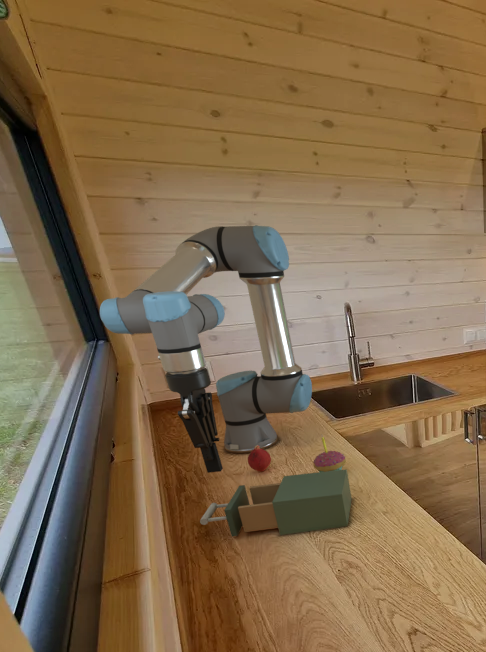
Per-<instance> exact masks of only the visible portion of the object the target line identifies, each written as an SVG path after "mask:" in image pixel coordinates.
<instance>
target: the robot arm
mask: <svg viewBox="0 0 486 652" xmlns="http://www.w3.org/2000/svg"><path fill="white" fill-rule="evenodd" d="M289 267H290V256H289V251H288V249H287V246H286V243H285V241H284V238H283V237H282V236H281V234H280V233H279V232H278V230H276V229H275V228H274V227H272V226H267V225H257V224H255V225H233V226H223V225H222V226H221V225H220V226H212V227H209V228H206V229H204V230H200V231H199V232H197V233H195V234H193V235H191V236H189V237H188V238H187V239H185V240H184V241H183V242H180V244H179V245H178V246H177V247H176V249H175V253H174V255H173V256H172V257H171V258H170V259H169V260H167V261H166V262H165V263H164V264H163V265H162V266H161V267H159V268H158V269H157V270H155V272H153V273H152V274H151V275H150V276H149V277H147V278H146V279H145V280H144V281H142V283H140V285H138V286H137V287H136V288H135V289H133V290H132V292H130V293H129V294H128V295H126V296H125V297H119V296H118V297H117V296H116V297H113V298H107V299H104V300H103V301H102V302H101V304H100V307H99V317H100V319H101V321H102V323H103V325H104V326H105V328H106V329H107V330H108V331H110V332H112V333H114V334H118V335H119V334H121V335H131V336H132V335H137V334H138V335H140V334H141V335H142V334H152V336H153V340H154V342H155V347H156V349H157V353H158V356H157V359H158V360H159V361H160V362H161V366H162V369H163V371H164V372H166V373H165V375H164V376H165V379H166V383H167V386H168V389H169V391H171V392H173V393H178V394H179V398H180V406H181V407H182V409H181V410H178V411H177V416H178V417H179V418H180V420H181V421H182V424H183V425H184V427H185V430H186V432H187V434H188V436H189V438H190V441H191V443H192V445H193V448H194V449H200V452H201V455H202V458H203V462H204V465H205V470H206V473H208V474H210V473H217V472H222V471H223V469H224V468H223V464H222V461H221V456H220V453H219V450H218V446H217V443H216V442H220V441H221V440H220V437H217V436H218V434H219V433H218V427H217V423H216V415H215V411H214V410H215V409H214V404H213V394H212V392H211V391H209V392H207V391H206V389H207V388H209V386H211V384H212V381H211V378H210V374H209V370H208V368H206V366H207V361H206V358H205V355H204V354H205V353H204V350H203V347H202V345H201V342H200V338H199V334H201V333H204V332H207V331H211V330H213V329H215V328H216V327H217V326H219V325H221V324H222V323H223V321H224V320H225V317H226V316H225V315H226V314H225V308H224V306H223V303H222V302H221V301H220V300H219V299H217V298H216V297H215V296H214V295H212V294H211V295H210V294H207V293H196V294H193V295H189V296H188V294H189V293H190V292H191V291H192V290H193V289H194V287H195V286H196V285H197V284H199V282H200V281H201V280H202V279H206V278H209V277H211V276H213V275H214V274H215V273H219V272H237V273H238V277H239V280H241V281H242V282H243V283H245V284H246V287H247V291H248V295H249V301H250V304H251V310H252V315H253V319H254V324H255V328H256V333H257V338H258V342H259V346H260V347H259V348H260V351H261V357H262V360H263V365H264V367H263V369H262V370H261V371H260V376H259V375H258V373H257V371H256V370H242V371H238V372H235V373H231V374H228V375H225V376H223V377H221V378H219V379H217V381H216V382H215V389H216V396H217V397H218V402H219V405H220V409H221V413H222V417H223V420H224V423H225V430H224V439H223V445H224V449H225V451H226V452H227V453H230V454H239V455H240V454H250V453H251V451H252V450H254V448H255V446H257V445H258V446H260V447H259V448H260V449H264V450H265V449H269V448H270V447H272V446H274V445H275V444H276V443H278V440H279V437H278V433H277V432H276V430H275V429H274V427H273V426H272V424H271V423H270V421H269V419H268V418H267V414H286V413H287V414H289V413H290V414H293V413H301V412H304V411H306V410H307V409H308V408H309V406H310V404H311V401H312V394H313V384H312V379H311V377H310V375H309V374H307V373H303V367H301V366H300V365H299V364H297V363H296V360H295V354H294V350H293V344H292V338H291V333H290V328H289V322H288V317H287V313H286V308H285V302H284V297H283V296H284V295H283V291H282V287H281V283H282V281H283V280H284V278H285V271H286V270H288V269H289Z"/></svg>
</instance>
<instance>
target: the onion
mask: <svg viewBox="0 0 486 652" xmlns="http://www.w3.org/2000/svg"><path fill="white" fill-rule="evenodd" d="M259 447H260V446H258V445H257V446H255V448H254V450H252V451H251V453H248V456H247V463H248V466H249V468H251V470H254V471H257V472H260V473H262V472H265V471H266V470H267V469H268V468H269V466H270V465H271V462H272V456H271V454H270V453H269V452H268V451H267V450H265V449H260V448H259Z"/></svg>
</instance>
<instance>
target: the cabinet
mask: <svg viewBox="0 0 486 652" xmlns="http://www.w3.org/2000/svg"><path fill="white" fill-rule="evenodd" d="M348 474H349V473H348V469H342V470H336V471H327V472H319V471H318V472H310V473H309V472H308V473H301V474H299V473H298V474H291V475H284V476H283V477H282V480H281V482H280V483H281V484H280V486H279V488H278V490H277V493H276V495H275V497H274V499H273V502H272V504H273V508H274V512H275V516H276V520H277V525H278V528H277V529H278V532H279V536H284V535H292V534H301V533H307V532H314V531H315V532H316V531H323V530H330V529H338V528H339V529H340V528H346V527H348V526H349V520H350V513H351V506H352V501H353V498H352V493H351V486H350V480H349V475H348Z"/></svg>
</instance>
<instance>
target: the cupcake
mask: <svg viewBox="0 0 486 652" xmlns="http://www.w3.org/2000/svg"><path fill="white" fill-rule="evenodd" d="M321 440H322V441H321V442H322V445H323V450H324V451H323V452H321V453H319V454H318V455H317V456H316V457H315V458H314V459H313V468H314V469H315V470H316V471H318V472H327V471H336V470H343V466H345V465H346V463H347V458H346V455H345V454H344V453H342V452H340V451H336V450H328V448H327V444H326V440H325V437H324V436H323V435H321Z"/></svg>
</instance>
